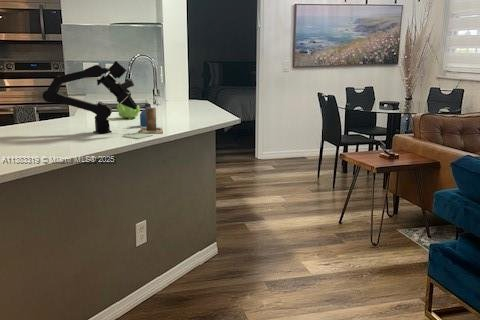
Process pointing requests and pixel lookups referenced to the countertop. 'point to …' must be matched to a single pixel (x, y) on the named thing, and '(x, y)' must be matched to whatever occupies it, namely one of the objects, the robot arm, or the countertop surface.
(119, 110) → the green cabbage
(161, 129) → the trap frame
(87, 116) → the countertop surface
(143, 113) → the perfume bottle
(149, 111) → the walnut dowel
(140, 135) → the pad
